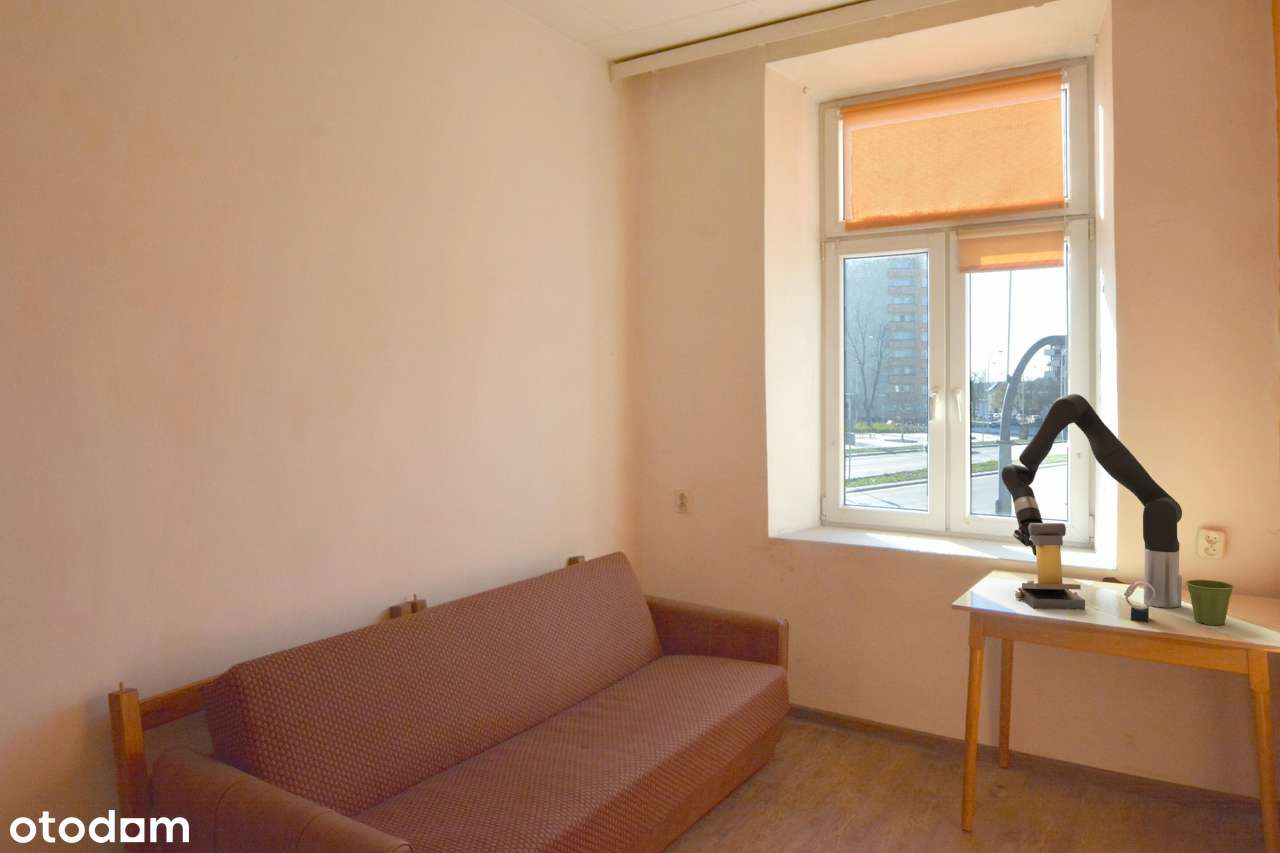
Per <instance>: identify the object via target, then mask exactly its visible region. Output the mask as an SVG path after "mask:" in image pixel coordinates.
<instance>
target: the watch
mask: <svg viewBox="0 0 1280 853" xmlns="http://www.w3.org/2000/svg"><path fill="white" fill-rule="evenodd" d="M1140 584H1141V585H1143V586H1144V585H1147V586H1148V587H1150V588H1151V589H1152V590H1153V592H1154V593H1153V596H1152V598H1151V600H1150V602H1149V603H1148V604H1146V605H1145V606H1140V605H1137V606H1136V605H1134V604H1133V603H1132V602H1131V601H1130V600H1129V598H1130V597H1131V596H1132V595H1133V593H1134V592H1135V590H1136V589H1137V587H1138V586H1139V585H1140ZM1123 596H1124V597H1125V601H1126V603H1127V604H1128V606H1129V607H1130V608H1131V609H1130V621H1131V622H1132V621H1134V622H1142V623H1149V619H1150V618H1149V616H1150V614H1149V613H1150V610H1149V609H1150V607H1152V606H1151V605H1152V604H1153V602H1154V600H1155V597H1156V596H1155V590H1154V588H1153V587H1152V586H1151V585H1150V584H1148V583H1146V582H1144V580H1136V581H1132V582H1131V583H1130V584H1129V586H1128V587H1127V588H1126V590H1125V592H1124V594H1123Z"/></svg>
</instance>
